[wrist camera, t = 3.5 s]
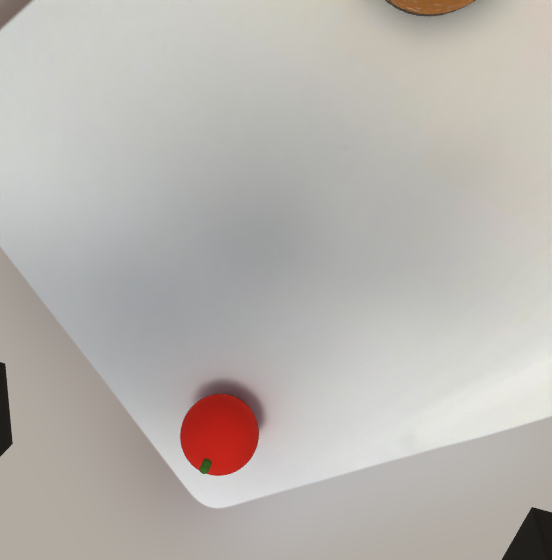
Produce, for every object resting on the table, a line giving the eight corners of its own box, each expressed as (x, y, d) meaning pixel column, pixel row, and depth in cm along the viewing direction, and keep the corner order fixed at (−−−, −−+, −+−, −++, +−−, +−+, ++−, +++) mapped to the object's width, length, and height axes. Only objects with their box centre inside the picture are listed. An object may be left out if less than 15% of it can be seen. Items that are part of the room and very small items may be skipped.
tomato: (185, 414, 50) (150, 476, 42) (213, 366, 46) (181, 424, 39) (246, 448, 50) (222, 516, 43) (279, 402, 47) (258, 467, 39)
